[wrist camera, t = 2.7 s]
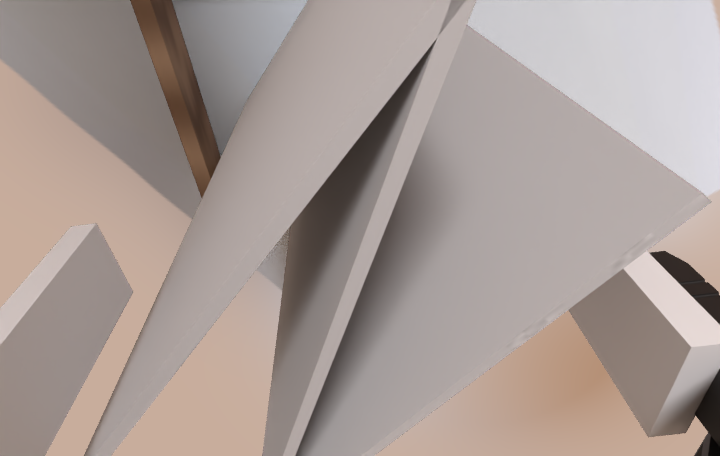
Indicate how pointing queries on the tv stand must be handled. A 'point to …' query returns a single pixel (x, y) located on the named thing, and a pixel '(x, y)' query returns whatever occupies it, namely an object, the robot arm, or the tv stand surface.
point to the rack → (179, 86)
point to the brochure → (398, 223)
